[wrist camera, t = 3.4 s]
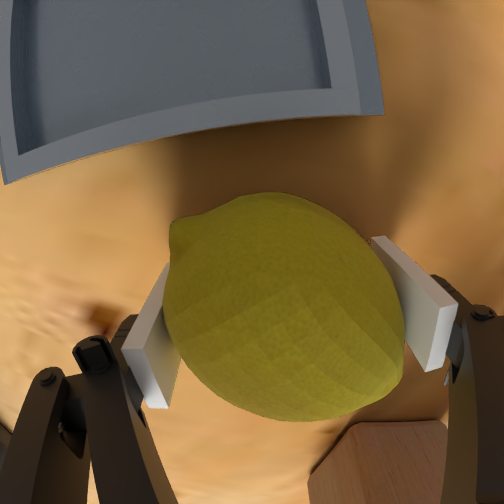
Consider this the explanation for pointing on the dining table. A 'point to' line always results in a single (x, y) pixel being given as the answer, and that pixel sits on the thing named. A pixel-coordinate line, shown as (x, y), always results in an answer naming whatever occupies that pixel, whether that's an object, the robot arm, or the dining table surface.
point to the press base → (172, 71)
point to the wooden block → (383, 465)
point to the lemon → (283, 308)
